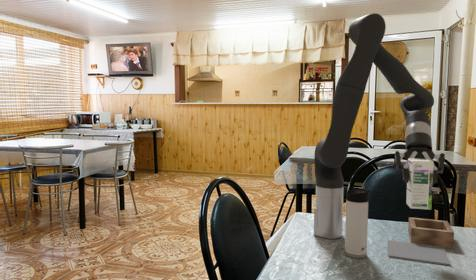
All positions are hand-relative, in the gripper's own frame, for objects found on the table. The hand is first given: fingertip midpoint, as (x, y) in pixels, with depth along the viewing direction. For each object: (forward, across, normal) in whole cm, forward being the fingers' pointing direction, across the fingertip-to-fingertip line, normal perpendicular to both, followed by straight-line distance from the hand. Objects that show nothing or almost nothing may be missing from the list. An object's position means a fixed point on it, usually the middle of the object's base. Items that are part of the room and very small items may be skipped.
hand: (420, 182), depth 105 cm
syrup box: (+5, 0, +7) cm, 8 cm away
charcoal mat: (+15, 0, +17) cm, 22 cm away
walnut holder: (+5, +5, +26) cm, 27 cm away
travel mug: (+20, -17, +11) cm, 29 cm away
